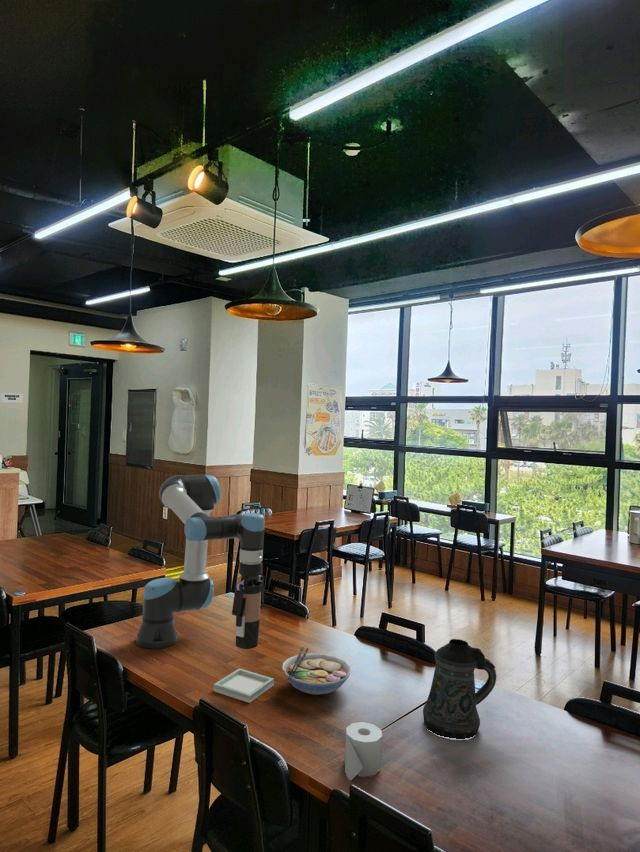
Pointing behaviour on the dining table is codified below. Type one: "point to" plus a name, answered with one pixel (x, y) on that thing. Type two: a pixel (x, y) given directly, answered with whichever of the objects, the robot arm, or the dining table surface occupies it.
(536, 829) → the dining table surface
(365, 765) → the toilet tissue
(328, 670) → the ramen bowl
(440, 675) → the beer stein
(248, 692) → the square plate
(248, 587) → the travel mug
